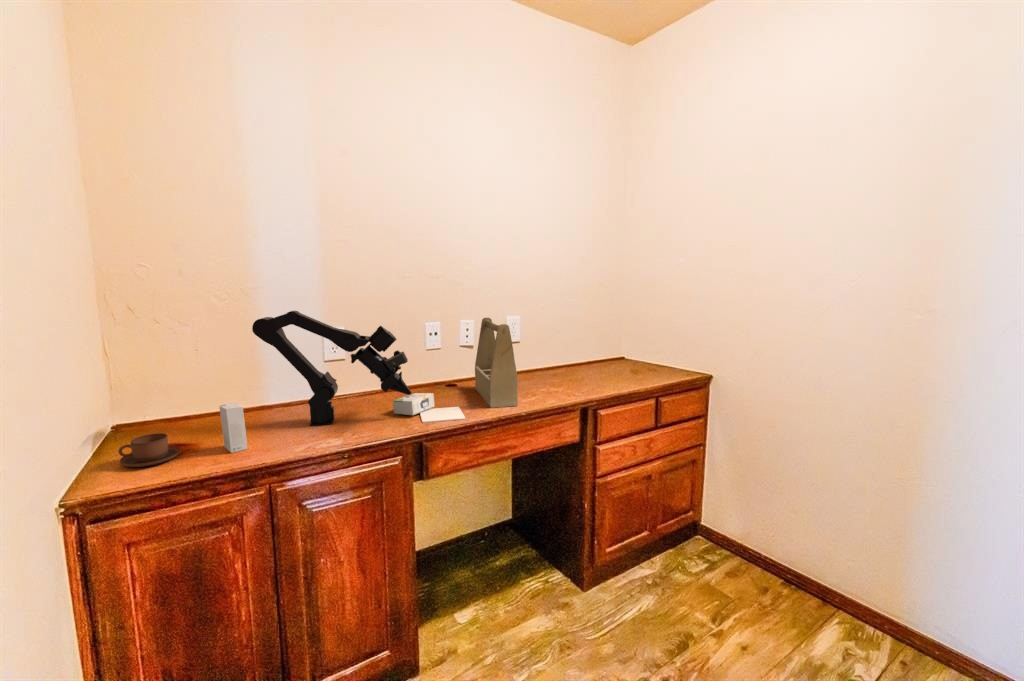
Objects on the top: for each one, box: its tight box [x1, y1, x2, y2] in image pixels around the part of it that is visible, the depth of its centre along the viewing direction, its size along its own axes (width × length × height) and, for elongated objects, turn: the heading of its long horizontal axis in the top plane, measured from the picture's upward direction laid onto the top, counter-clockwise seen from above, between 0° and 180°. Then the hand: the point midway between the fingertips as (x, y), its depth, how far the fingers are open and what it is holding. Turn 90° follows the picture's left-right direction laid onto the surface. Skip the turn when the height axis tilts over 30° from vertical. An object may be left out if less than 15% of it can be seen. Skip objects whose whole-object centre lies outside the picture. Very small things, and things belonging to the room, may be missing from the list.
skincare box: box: [219, 402, 248, 454], centre depth 125 cm, size 6×4×12 cm
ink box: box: [392, 392, 436, 416], centre depth 160 cm, size 9×5×12 cm
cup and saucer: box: [118, 433, 181, 468], centre depth 117 cm, size 12×12×6 cm
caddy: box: [474, 317, 519, 409], centre depth 178 cm, size 29×11×30 cm, turn 15°
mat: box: [419, 406, 467, 424], centre depth 157 cm, size 14×14×1 cm
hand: (410, 393), depth 153 cm, fingers closed
